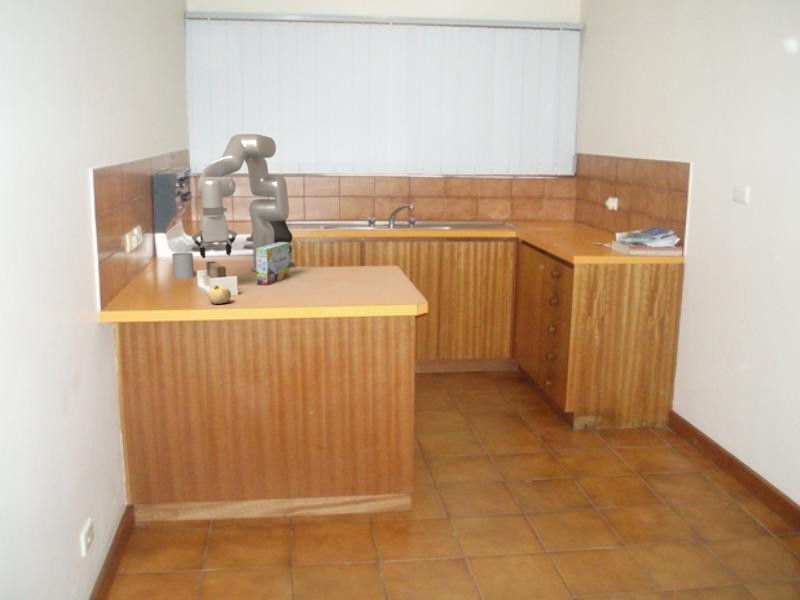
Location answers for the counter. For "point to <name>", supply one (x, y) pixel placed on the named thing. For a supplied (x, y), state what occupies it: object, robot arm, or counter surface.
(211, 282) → the white bracket frame
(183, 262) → the cup
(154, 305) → the counter surface
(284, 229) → the pitcher
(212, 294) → the onion
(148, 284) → the counter surface
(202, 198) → the robot arm
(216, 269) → the tan bar
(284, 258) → the snack box
